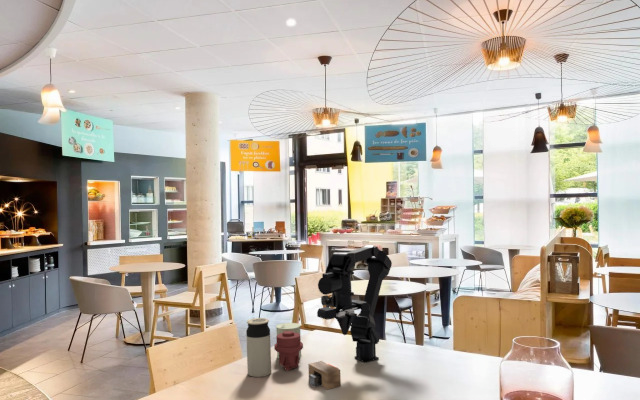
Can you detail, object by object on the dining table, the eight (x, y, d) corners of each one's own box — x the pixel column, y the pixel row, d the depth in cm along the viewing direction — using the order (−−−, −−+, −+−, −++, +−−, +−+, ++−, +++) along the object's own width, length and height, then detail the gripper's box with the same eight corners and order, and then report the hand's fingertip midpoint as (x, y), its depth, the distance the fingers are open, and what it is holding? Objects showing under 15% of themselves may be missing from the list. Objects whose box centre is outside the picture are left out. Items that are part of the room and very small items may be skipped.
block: (321, 375, 164) (321, 360, 164) (340, 385, 154) (340, 369, 154) (308, 379, 161) (308, 363, 161) (327, 389, 152) (326, 373, 152)
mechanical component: (306, 363, 177) (299, 373, 167) (279, 362, 179) (271, 371, 169) (305, 328, 177) (298, 336, 167) (278, 328, 179) (270, 335, 169)
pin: (328, 377, 162) (328, 363, 162) (339, 382, 157) (338, 368, 157) (307, 383, 158) (306, 368, 158) (317, 388, 153) (316, 373, 153)
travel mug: (275, 371, 170) (274, 318, 170) (263, 378, 163) (261, 324, 163) (255, 368, 173) (254, 316, 173) (243, 375, 166) (241, 322, 166)
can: (271, 357, 185) (270, 325, 185) (289, 351, 192) (288, 320, 192) (289, 362, 179) (288, 328, 179) (306, 355, 186) (305, 323, 186)
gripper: (349, 282, 181) (351, 325, 182) (307, 290, 171) (309, 335, 171) (369, 286, 172) (371, 331, 172) (326, 294, 162) (328, 342, 162)
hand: (344, 334), depth 170 cm, fingers closed
